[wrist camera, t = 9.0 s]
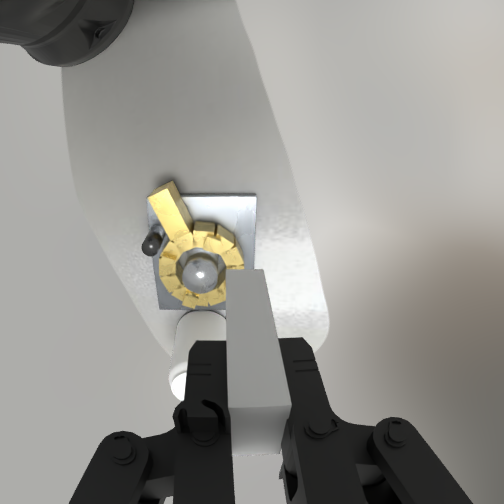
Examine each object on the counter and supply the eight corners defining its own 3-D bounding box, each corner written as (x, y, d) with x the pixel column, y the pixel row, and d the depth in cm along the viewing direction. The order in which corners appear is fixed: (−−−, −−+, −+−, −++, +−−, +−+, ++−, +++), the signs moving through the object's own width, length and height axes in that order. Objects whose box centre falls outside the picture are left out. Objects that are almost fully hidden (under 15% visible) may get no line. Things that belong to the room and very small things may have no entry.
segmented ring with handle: (254, 276, 41) (257, 293, 38) (186, 302, 42) (183, 320, 39) (202, 166, 34) (199, 173, 31) (128, 202, 35) (117, 214, 32)
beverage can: (176, 345, 47) (168, 405, 37) (177, 304, 44) (166, 364, 33) (227, 350, 48) (229, 410, 38) (234, 310, 45) (237, 371, 34)
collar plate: (148, 195, 37) (135, 211, 31) (255, 194, 38) (260, 210, 32) (161, 304, 44) (153, 332, 38) (251, 304, 45) (255, 332, 39)
